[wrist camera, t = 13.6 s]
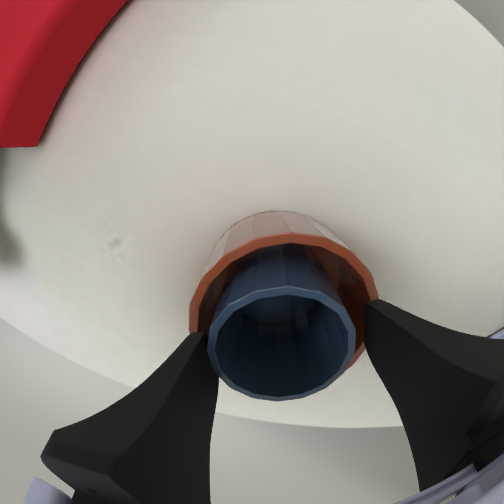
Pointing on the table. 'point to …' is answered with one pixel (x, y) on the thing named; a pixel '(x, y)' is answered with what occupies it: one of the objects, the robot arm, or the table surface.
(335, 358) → the blue cup
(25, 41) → the red flat box
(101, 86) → the table surface
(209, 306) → the terracotta tumbler
